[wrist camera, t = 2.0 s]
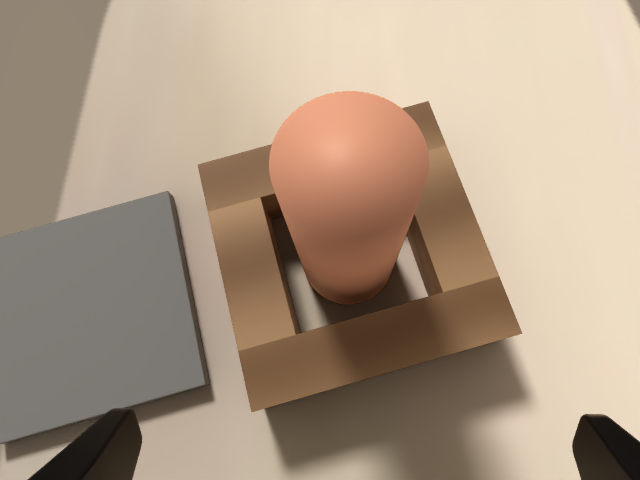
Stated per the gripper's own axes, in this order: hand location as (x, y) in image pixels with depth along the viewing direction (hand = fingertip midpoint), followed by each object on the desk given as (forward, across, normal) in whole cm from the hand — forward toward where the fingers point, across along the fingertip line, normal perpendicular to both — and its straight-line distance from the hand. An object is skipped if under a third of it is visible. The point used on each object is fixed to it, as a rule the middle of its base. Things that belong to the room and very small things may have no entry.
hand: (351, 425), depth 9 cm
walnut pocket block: (+14, 0, +4) cm, 14 cm away
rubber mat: (+12, +13, +6) cm, 19 cm away
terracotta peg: (+14, 0, +4) cm, 14 cm away
